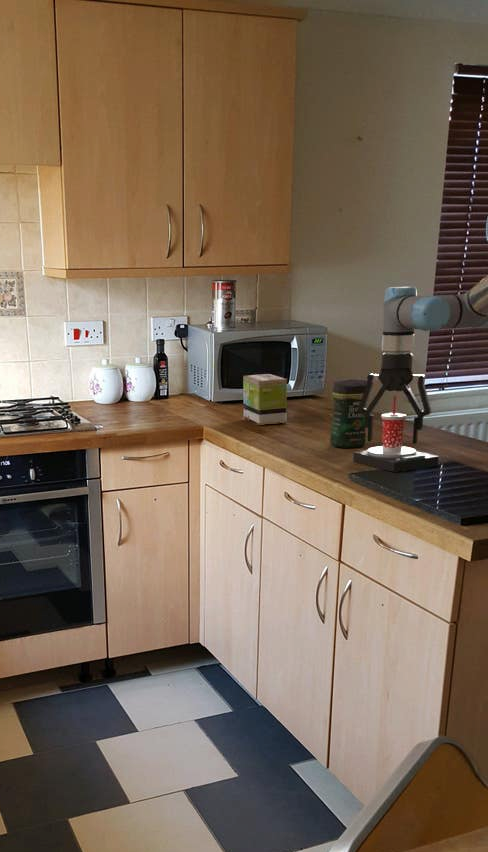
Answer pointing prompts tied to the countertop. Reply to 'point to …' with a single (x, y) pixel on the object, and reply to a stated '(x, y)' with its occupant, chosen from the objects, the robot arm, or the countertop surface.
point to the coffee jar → (348, 414)
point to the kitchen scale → (395, 459)
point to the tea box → (265, 398)
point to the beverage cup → (392, 430)
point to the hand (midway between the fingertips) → (392, 441)
